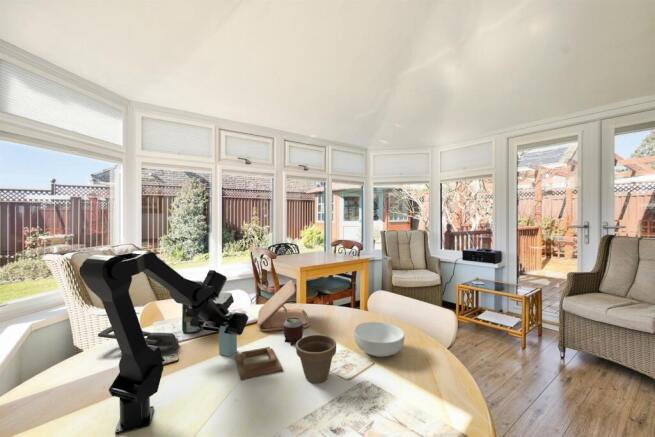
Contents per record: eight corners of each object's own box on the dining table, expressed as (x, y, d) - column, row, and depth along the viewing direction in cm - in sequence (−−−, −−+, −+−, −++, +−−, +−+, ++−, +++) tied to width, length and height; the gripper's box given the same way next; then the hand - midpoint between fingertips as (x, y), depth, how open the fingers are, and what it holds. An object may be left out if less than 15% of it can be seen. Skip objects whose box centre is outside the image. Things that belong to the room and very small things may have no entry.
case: (259, 314, 135) (258, 280, 134) (304, 311, 138) (304, 277, 138) (256, 333, 114) (256, 293, 114) (310, 329, 118) (310, 290, 118)
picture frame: (282, 370, 87) (282, 362, 87) (240, 380, 83) (240, 371, 83) (272, 350, 100) (272, 342, 100) (235, 357, 96) (235, 349, 96)
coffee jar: (188, 324, 123) (187, 280, 122) (208, 323, 123) (207, 279, 123) (178, 334, 113) (177, 286, 112) (199, 333, 114) (199, 285, 113)
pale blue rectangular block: (229, 356, 96) (229, 317, 95) (219, 354, 97) (218, 315, 97) (237, 350, 100) (236, 312, 99) (226, 349, 101) (226, 311, 101)
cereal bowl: (381, 370, 88) (381, 347, 87) (343, 350, 101) (343, 329, 100) (414, 352, 98) (414, 332, 98) (376, 336, 111) (376, 317, 111)
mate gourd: (304, 337, 110) (304, 298, 109) (300, 347, 102) (300, 305, 101) (284, 337, 110) (284, 297, 110) (279, 346, 103) (279, 304, 102)
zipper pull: (114, 323, 106) (182, 325, 105) (115, 342, 107) (182, 343, 105) (94, 334, 98) (167, 336, 96) (94, 354, 98) (167, 356, 96)
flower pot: (299, 392, 77) (299, 355, 77) (293, 369, 88) (293, 336, 88) (341, 385, 80) (341, 349, 80) (330, 364, 91) (330, 332, 91)
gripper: (244, 289, 91) (263, 312, 102) (195, 284, 97) (218, 306, 108) (229, 323, 84) (251, 344, 95) (177, 316, 90) (203, 336, 100)
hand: (230, 331), depth 100 cm, fingers closed on pale blue rectangular block, 4 cm apart
